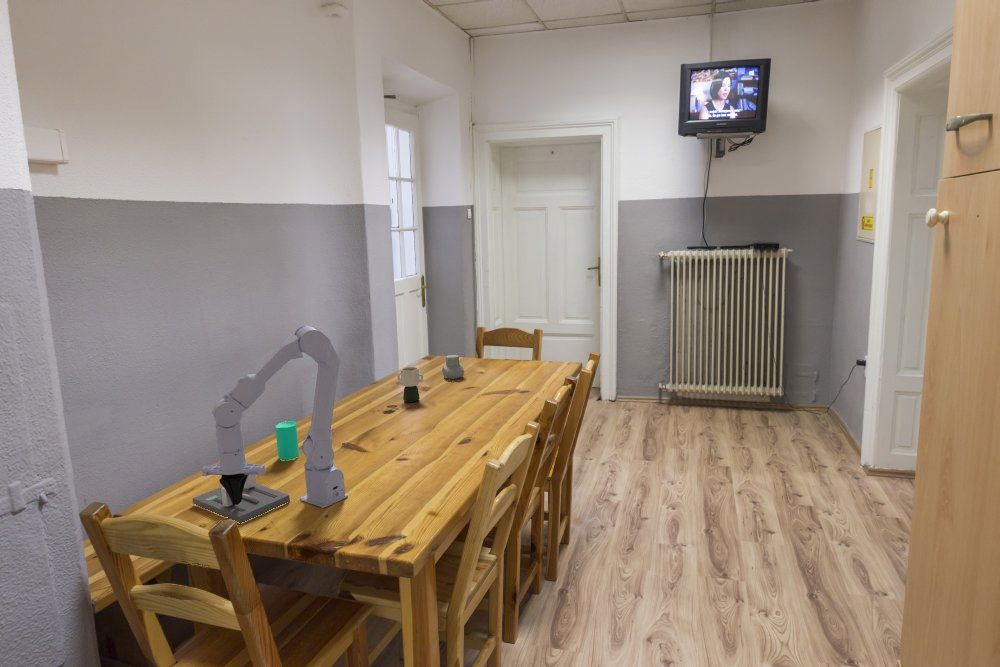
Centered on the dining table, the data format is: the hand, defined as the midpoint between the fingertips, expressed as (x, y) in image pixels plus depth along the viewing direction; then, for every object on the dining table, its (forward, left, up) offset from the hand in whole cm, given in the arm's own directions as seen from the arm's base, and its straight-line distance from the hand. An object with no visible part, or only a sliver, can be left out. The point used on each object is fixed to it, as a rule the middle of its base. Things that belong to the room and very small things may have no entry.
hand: (237, 503), depth 153 cm
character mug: (+32, -96, -4) cm, 101 cm away
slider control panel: (+6, -5, -3) cm, 8 cm away
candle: (+23, -32, -4) cm, 39 cm away
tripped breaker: (+3, 0, -1) cm, 3 cm away
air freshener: (+41, -133, -4) cm, 139 cm away
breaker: (+9, -9, -1) cm, 12 cm away
